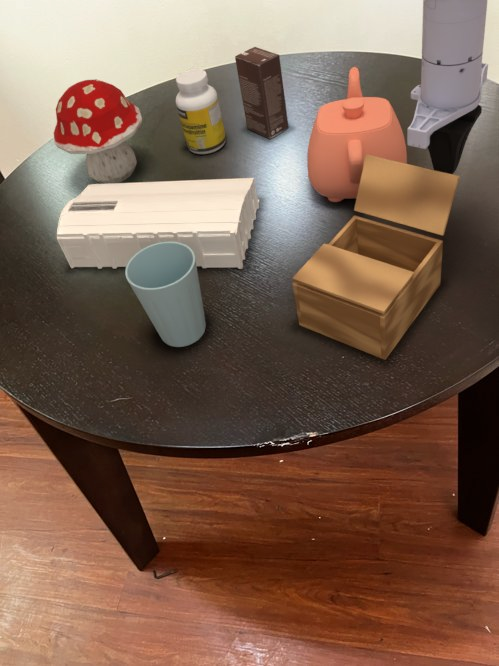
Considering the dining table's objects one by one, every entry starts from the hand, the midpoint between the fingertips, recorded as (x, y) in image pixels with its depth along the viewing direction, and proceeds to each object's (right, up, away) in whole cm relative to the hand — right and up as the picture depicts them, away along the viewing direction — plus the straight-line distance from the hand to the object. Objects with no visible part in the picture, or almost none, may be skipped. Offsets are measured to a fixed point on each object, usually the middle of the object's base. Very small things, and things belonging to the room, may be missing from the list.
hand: (445, 171), depth 73 cm
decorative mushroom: (-43, +7, +31) cm, 54 cm away
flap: (-5, -3, -2) cm, 6 cm away
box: (-19, +15, +32) cm, 40 cm away
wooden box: (-8, -15, +1) cm, 17 cm away
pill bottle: (-29, +12, +32) cm, 45 cm away
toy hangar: (-33, -5, +17) cm, 38 cm away
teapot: (-7, +3, +18) cm, 20 cm away
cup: (-30, -18, +4) cm, 35 cm away
